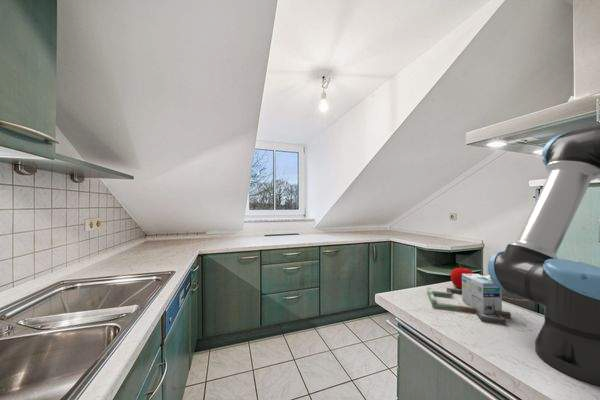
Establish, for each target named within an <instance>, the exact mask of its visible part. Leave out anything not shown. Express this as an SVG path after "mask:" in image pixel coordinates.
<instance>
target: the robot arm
mask: <svg viewBox="0 0 600 400" xmlns="http://www.w3.org/2000/svg"><path fill="white" fill-rule="evenodd" d="M541 158H543V159H541V160H542V163H543V165H544V166H545V170H546V172H547V173H548V176H547V179H546V180H545V182H544V184H543V187H542V189H541V190H540V193H539V195H538V197H537V198H536V201H535V203H534V204H533V207H532V209H531V211H530V213H529V215H528V217H527V219H526V221H525V223H524V226H523V228H522V230H521V232H520V234H519V236H518V237H517V240H516V241H513V242H509V243H508V244H507V245H506V248H505V250H502V251H498V252H496V253H494V254H492V255H491V256H490V258H489V260H488V262H487V272H488V275H489V279H491V280H492V282H493V283H494V284H495V285H496V286H498V287H499V288H501V289H502V290H503V291H506V293H509V294H511V295H514V296H517V297H519V298H522V299H525V300H527V301H528V302H532V303H534V304H536V305H539V306H542V307H543V308H544V311H543V313H544V323H543V325H542V326H541V328H540V330H539V332H538V334H537V336H536V338H535V341H534V351H535V354H536V356H538V357H539V358H540V359H541V360H542V361H544V362H545V363H546V364H547V365H549V366H551V367H553V368H554V369H556V370H558V371H560V372H562V373H564V374H566V375H568V376H571V377H572V378H575V379H578V380H580V381H582V382H586V383H589V384H592V385H595V386H599V387H600V267H599V266H596V265H593V264H590V263H586V262H582V261H576V260H575V261H574V260H571V259H565V258H559V257H558V256H557V253H558V250H559V248H560V247H561V245H562V243H563V240H564V238H565V236H566V234H567V232H568V229H569V228H570V226H571V223H572V221H573V219H574V218H575V215H576V213H577V212H578V209H579V208H580V204H581V202H582V201H583V199H584V197H585V194H586V192H587V190H588V189H589V186H590V185H591V182H592V181H595V180H598V179H600V124H596V125H591V126H588V127H585V128H580V129H576V130H575V129H573V130H569V131H566V132H564V133H561V134H558V135H556V136H554V137H552V138H551V139H549V141H547V142H546V143H545V146H544V147H543V148H542V152H541Z"/></svg>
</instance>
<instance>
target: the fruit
mask: <svg viewBox="0 0 600 400" xmlns="http://www.w3.org/2000/svg"><path fill="white" fill-rule="evenodd" d="M462 274H475V273H474V272H473V271H472V270H471V269H469V268H464V267H462V266H461V264H459V267H457V268H456V267H455V268H453V269H452V271H451V273H450V281H451V282H452V284H453V285H454V287H456V288H457V289H462Z"/></svg>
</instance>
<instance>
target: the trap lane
mask: <svg viewBox="0 0 600 400" xmlns="http://www.w3.org/2000/svg"><path fill="white" fill-rule="evenodd" d="M426 290H427V298H428V299H429V302H430V304H431V308H434V309H435V308H436V309H442V310H448V311H456V312H464V313H470V314H476V316H477V317H478V319H479V320H480V321H481V322H483V323H491V324H495V325H496V324H497V325H505V326H506V323H507V319H512V313H511V312H509V311H503V310H502V311H496V310H494V314H493V315H494V316H491V315H485V314H483V313H481V312H479V310H478V309H477V308H474V307H471V306H467V305H466V306H465V305H458V304H450V303H443V302H437V299H436V298H435V296H436V297H442V296H443V297H444V298H450V297H452V298H453V294H457V293H461V294H460V295H462V288H451V287H446V291H439V290H432V288H431V287H427V288H426ZM451 292H452V293H451ZM443 297H442V298H443ZM504 317H505V318H506V319H505V318H504Z"/></svg>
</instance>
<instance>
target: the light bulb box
mask: <svg viewBox="0 0 600 400" xmlns="http://www.w3.org/2000/svg"><path fill="white" fill-rule="evenodd" d="M461 290H462V294H461V298H462V299H461V301H463V303H464V304H466V305H468V307H474V308H477V309H478V310H479V312H480V313H481V314H482V315H494V310H496V311H503V299H502V297H503V293H502V290H503V289H501V288H499V287H498V286H496V285H495V284H494V283H493V282H492V280H491V279H490V277H487V276H484V275H482V274H479V273H474V274H462V288H461Z"/></svg>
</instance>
